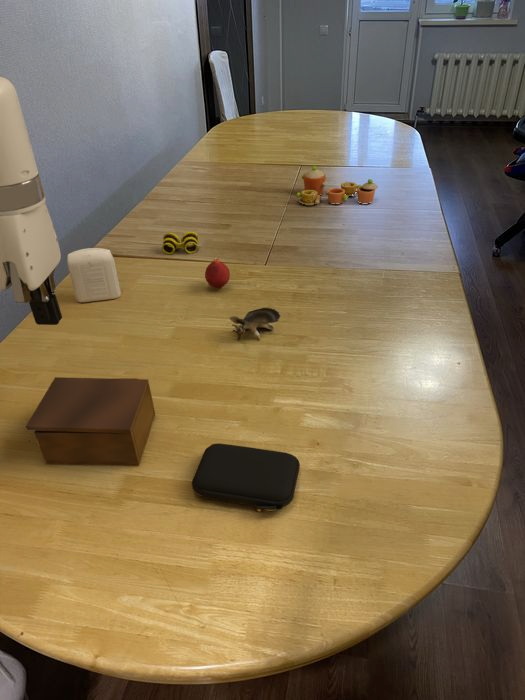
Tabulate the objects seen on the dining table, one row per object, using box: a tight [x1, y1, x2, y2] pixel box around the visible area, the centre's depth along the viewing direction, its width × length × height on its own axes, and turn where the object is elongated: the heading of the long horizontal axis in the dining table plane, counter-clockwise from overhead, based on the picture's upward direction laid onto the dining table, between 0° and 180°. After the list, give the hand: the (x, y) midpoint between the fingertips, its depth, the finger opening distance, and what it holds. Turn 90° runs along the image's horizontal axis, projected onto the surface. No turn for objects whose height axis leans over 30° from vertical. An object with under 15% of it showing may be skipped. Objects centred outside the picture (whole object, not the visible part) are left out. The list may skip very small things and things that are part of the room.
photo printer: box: [66, 247, 122, 303], centre depth 119 cm, size 10×4×12 cm, turn 102°
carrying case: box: [191, 442, 301, 513], centre depth 75 cm, size 11×3×15 cm
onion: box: [204, 257, 231, 290], centre depth 122 cm, size 6×6×8 cm
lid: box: [25, 376, 150, 433], centre depth 80 cm, size 16×12×1 cm
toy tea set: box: [295, 165, 379, 206], centre depth 169 cm, size 26×16×10 cm, turn 85°
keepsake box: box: [33, 383, 156, 467], centre depth 82 cm, size 15×12×7 cm
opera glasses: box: [161, 231, 199, 255], centre depth 141 cm, size 10×5×5 cm, turn 92°
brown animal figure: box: [229, 307, 282, 341], centre depth 106 cm, size 8×7×9 cm
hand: (49, 321), depth 73 cm, fingers closed
